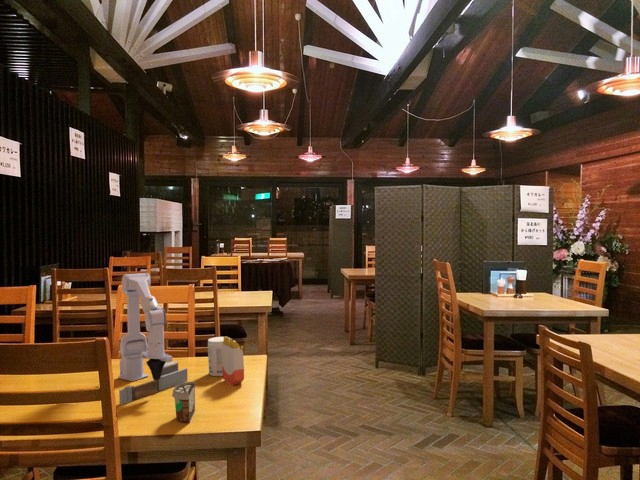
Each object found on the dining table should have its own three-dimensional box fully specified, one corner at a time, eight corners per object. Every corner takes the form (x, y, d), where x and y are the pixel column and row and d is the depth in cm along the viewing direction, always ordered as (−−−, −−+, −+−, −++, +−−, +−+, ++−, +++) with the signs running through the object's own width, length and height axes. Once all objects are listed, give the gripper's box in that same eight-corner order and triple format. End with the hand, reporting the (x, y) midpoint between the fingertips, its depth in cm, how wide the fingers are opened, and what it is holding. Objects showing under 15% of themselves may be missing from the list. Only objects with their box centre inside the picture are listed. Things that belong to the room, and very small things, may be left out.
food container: (177, 410, 161) (176, 381, 161) (195, 410, 162) (195, 380, 161) (168, 425, 149) (168, 394, 149) (188, 425, 149) (188, 393, 149)
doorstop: (155, 380, 194) (155, 365, 194) (171, 375, 201) (171, 361, 200) (162, 382, 192) (162, 367, 191) (178, 377, 198) (178, 362, 198)
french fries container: (232, 377, 196) (231, 334, 195) (245, 384, 187) (244, 339, 187) (222, 380, 193) (221, 335, 193) (234, 387, 184) (233, 340, 184)
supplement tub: (235, 370, 206) (234, 336, 206) (226, 377, 197) (226, 342, 196) (213, 369, 208) (213, 336, 207) (204, 376, 198) (203, 341, 198)
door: (130, 400, 172) (130, 386, 172) (155, 391, 181) (155, 378, 181) (132, 400, 171) (132, 387, 171) (157, 391, 180) (157, 378, 180)
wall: (119, 403, 168) (118, 389, 168) (184, 380, 193) (184, 367, 193) (122, 404, 167) (121, 390, 167) (188, 381, 193) (187, 368, 192)
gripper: (133, 342, 176) (134, 379, 176) (161, 347, 168) (162, 385, 169) (149, 338, 182) (149, 374, 182) (176, 342, 174) (177, 379, 175)
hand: (156, 379), depth 176 cm, fingers closed
